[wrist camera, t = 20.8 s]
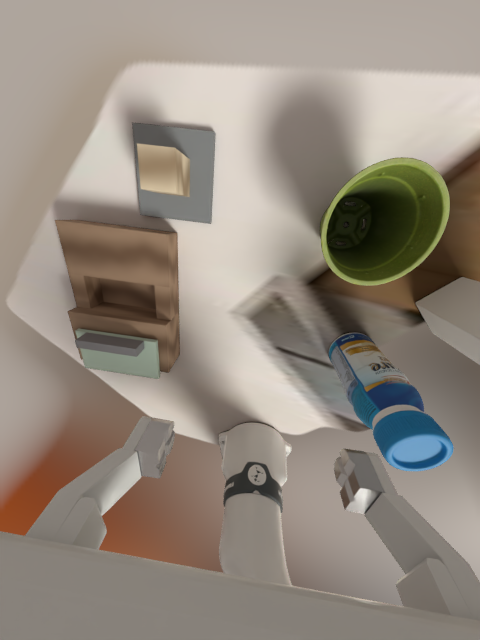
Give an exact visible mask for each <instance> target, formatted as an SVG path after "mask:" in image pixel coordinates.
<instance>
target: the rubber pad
mask: <svg viewBox="0 0 480 640" xmlns="http://www.w3.org/2000/svg"><path fill="white" fill-rule="evenodd" d="M132 125H133V137H134V148H135V159H136V170H137V181H138V193H139V204H140V215H145V216H153V217H161V218H169V219H177V220H185V221H193V222H201V223H209V224H211V220H212V198H213V176H214V154H215V132H214V131H205V130H196V129H187V128H178V127H169V126H160V125H151V124H141V123H132ZM137 143H138V144H147V145H155V146H164V147H173V148H176V149H177V150H179V151H180V152H181V153H182V154H184V155H185V156H186V157H187V158H189V159H190V197H185V196H177V195H169V194H161V193H156V192H152V191H147V190H143V189H141V186H140V174H139V163H138V151H137Z"/></svg>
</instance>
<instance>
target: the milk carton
mask: <svg viewBox="0 0 480 640" xmlns="http://www.w3.org/2000/svg"><path fill="white" fill-rule="evenodd" d="M415 304H416V306H417V307H418V309H419V311H420V313H421V314H422V316H423V318H424V320H425V322H426V323H427V325H428V327H429V329H430V330H431V332H432V333H433V334H435V335H436V336H438V337H439V338H441V339H442V340H444V341H445V342H447V343H448V344H450V345H451V346H453V347H454V348H456V349H457V350H458V351H460V352H461V353H463V354H465V355H466V356H467V357H469V358H470V359H472V360H473V361H475V362H476V363H478V364H479V365H480V282H478V281H475V280H471V279H468V278H465V277H461V278H459V279H457V280H455V281H453V282H451V283H450V284H448V285H446V286H444V287H442V288H441V289H439V290H437V291H435V292H433V293H432V294H430V295H428V296H426V297H424V298H422V299H421V300H419V301H417V302H416V303H415Z"/></svg>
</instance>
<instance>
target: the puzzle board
mask: <svg viewBox="0 0 480 640" xmlns="http://www.w3.org/2000/svg"><path fill="white" fill-rule="evenodd" d="M55 222H56V226H57V230H58V234H59V238H60V242H61V245H62V249H63V253H64V257H65V261H66V265H67V269H68V273H69V277H70V281H71V285H72V289H73V293H74V297H75V301H76V305H77V307H76V308H74V309H72V310H70V311H68V314H69V318H70V321H71V325H72V328H73V332H74V336H75V339H77V335H76V332H75V330H77V329H86V330H93V331H100V332H106V333H113V334H120V335H127V336H133V337H140V338H147V339H154V340H158V353H159V366H160V371H161V372H168V373H169V371H170V369H171V368H172V366H173V364H174V363H175V361H176V359H177V358H178V356H179V354H180V342H179V293H178V243H177V233H175V232H167V231H159V230H151V229H144V228H136V227H128V226H120V225H112V224H105V223H97V222H89V221H81V220H55ZM78 350H79V354H80V357H81V359H83V357H82V354H81V350H80V348H78Z"/></svg>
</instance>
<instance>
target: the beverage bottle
mask: <svg viewBox="0 0 480 640" xmlns="http://www.w3.org/2000/svg"><path fill="white" fill-rule="evenodd" d="M329 358H330V360H331V362H332V364H333V366H334V368H335V370H336V372H337V374H338V377H339V379H340V381H341V383H342V385H343V387H344V390H345V393H346V396H347V398H348V400H349V402H350V403H351V405H352V406H353V407H354V411H355V413H356V415H357V416H358V418H359V419H360V420H361V421H362V422H363V423H364V424H365V425H366V426H368V427H369V428H370V429H372V430H373V435H374V439H375V441H376V443H377V445H378V446H379V449H380V450H381V453H382V455H383V456H384V458H385V459H386V461H387V462H388V463H389V464H390V465H392V466H393V467H395V468H397V469H401V470H405V471H423V470H428V469H432V468H435V467H437V466H439V465H441V464H443V463H444V462H446V461H447V460H448V459H449V458H450V457H451V455H452V453H453V444H452V442H451V441H450V439H449V437H448V436H447V434H446V433H445V432H444V431H443V430H442V429H441V427H440V426H439V425H438V424H437V423H436V422H435V421H434V419H433V418H432V417H430V416H429V415H428V414H426V413H425V412H424V406H423V402H422V399H421V396H420V394H419V393H418V391H417V390H416V389H415V388H414V387H413V386H412V385H411V384H410V383H409V381H408V379H407V377H406V376H405V375H404V374H403V373H402V372H401V371H400V370H399V369H397V368H396V367H395V366H394V365H393V364H392V363H391V362H390V361H389V360H388V359H387V358H386V357H385V355H384V354H383V353H382V352H381V351H380V350H379V349H378V347H377V346H376V345H375V343H374V342H373V341H372V340H371V339H370V338H369V337H368V336H366V335H364V334H361V333H347V334H344V335H342V336H340V337H338V338H337V339H336V340H335V341H334V342H333V343H332V344H331V346H330V348H329Z"/></svg>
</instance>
